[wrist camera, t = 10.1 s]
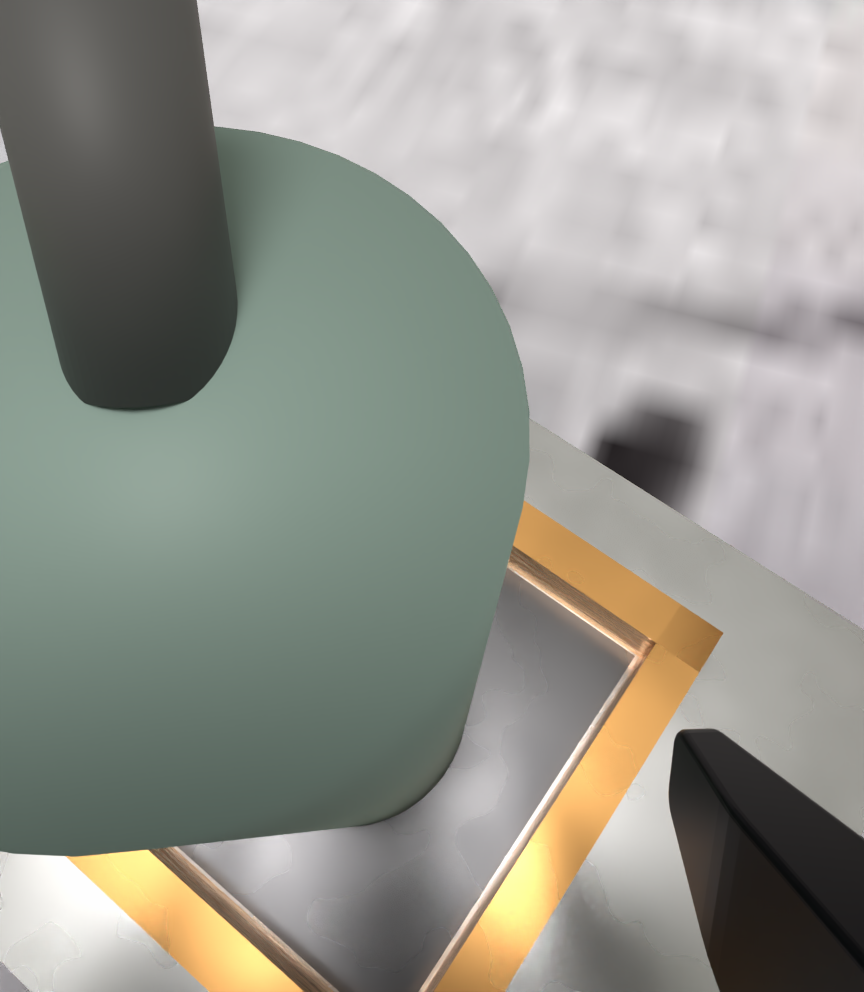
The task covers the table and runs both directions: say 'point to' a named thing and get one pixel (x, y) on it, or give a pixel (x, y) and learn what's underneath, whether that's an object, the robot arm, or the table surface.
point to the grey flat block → (501, 790)
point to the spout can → (228, 458)
